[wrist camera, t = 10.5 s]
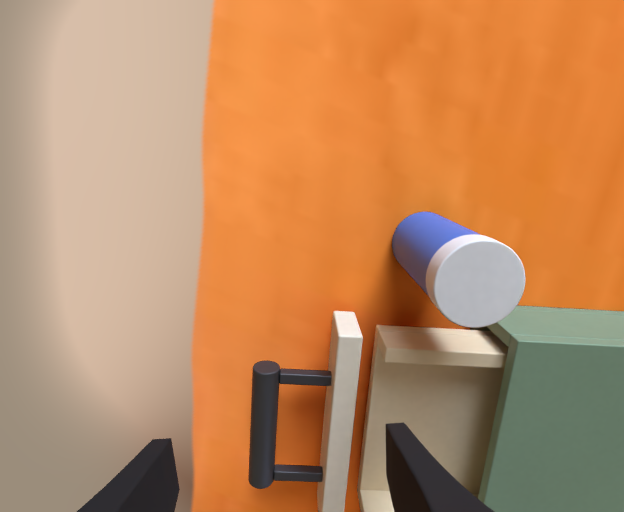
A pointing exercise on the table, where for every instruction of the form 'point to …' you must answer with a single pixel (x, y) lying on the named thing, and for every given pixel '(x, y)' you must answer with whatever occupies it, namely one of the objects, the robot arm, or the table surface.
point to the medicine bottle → (459, 269)
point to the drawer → (387, 407)
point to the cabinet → (558, 413)
